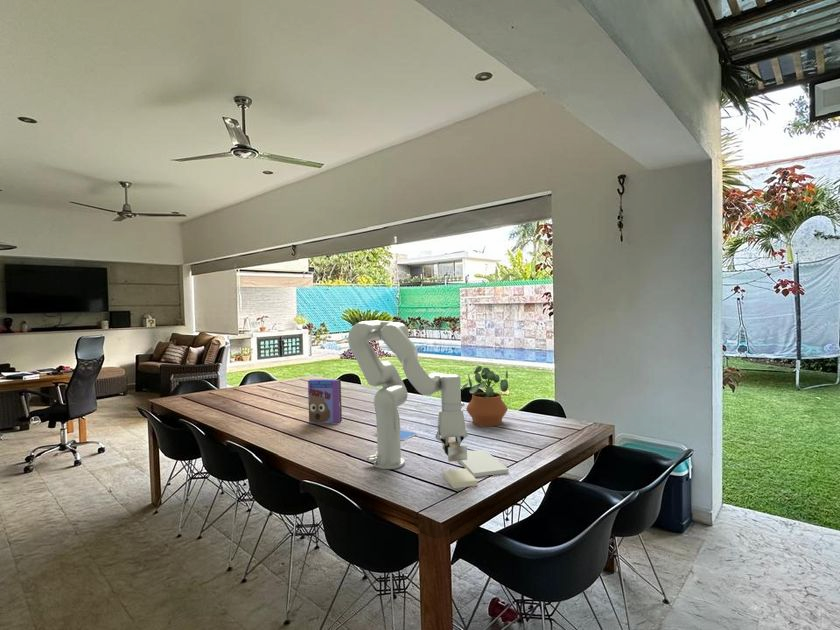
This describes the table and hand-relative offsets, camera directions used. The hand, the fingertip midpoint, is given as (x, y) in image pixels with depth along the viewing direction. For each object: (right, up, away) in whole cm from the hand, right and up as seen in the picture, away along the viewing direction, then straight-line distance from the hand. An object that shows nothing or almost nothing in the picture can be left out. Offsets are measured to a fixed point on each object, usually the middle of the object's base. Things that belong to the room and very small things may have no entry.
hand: (452, 453), depth 172 cm
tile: (+1, -6, -2) cm, 7 cm away
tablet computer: (-25, -7, +52) cm, 58 cm away
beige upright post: (0, 0, 0) cm, 0 cm away
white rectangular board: (+12, -7, +8) cm, 16 cm away
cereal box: (-65, -7, +79) cm, 103 cm away
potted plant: (+23, -5, +68) cm, 72 cm away
